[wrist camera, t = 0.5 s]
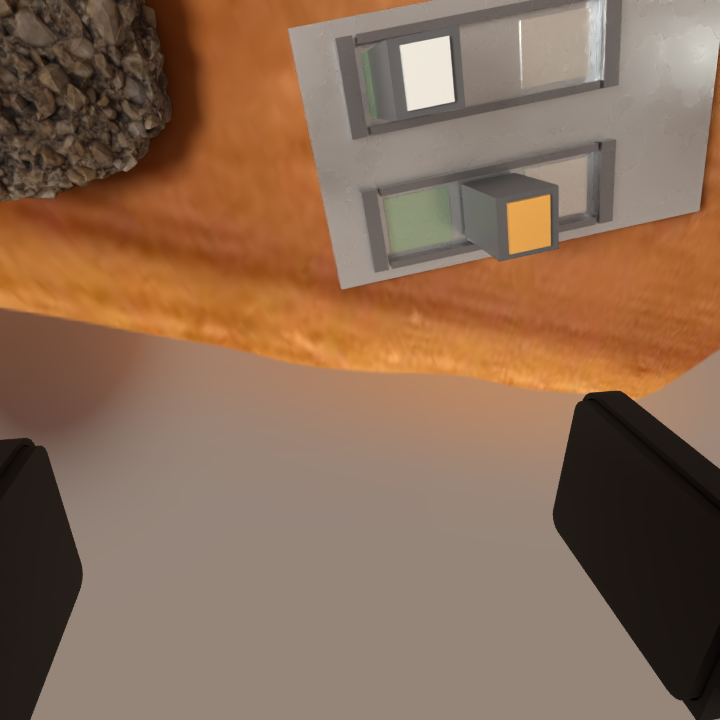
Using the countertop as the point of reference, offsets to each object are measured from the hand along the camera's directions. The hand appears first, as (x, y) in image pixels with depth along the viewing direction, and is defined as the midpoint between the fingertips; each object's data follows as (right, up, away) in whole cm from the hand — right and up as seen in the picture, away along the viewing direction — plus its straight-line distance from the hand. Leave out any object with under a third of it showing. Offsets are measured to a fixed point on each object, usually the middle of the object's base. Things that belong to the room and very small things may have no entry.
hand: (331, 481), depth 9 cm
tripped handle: (+8, +11, +20) cm, 24 cm away
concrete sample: (-15, +15, +16) cm, 27 cm away
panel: (+9, +15, +20) cm, 26 cm away
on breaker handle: (+3, +16, +17) cm, 23 cm away
